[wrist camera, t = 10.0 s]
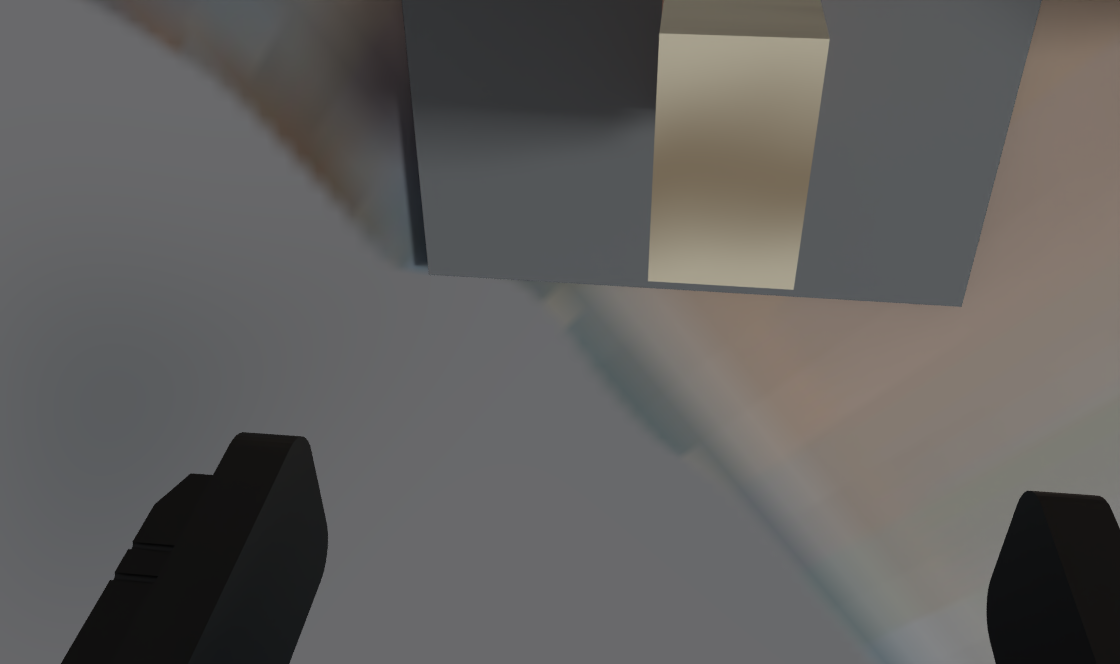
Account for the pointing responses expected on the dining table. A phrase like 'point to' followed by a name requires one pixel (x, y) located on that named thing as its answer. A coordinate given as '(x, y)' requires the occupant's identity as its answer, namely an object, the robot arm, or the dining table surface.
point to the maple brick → (734, 139)
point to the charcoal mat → (629, 130)
